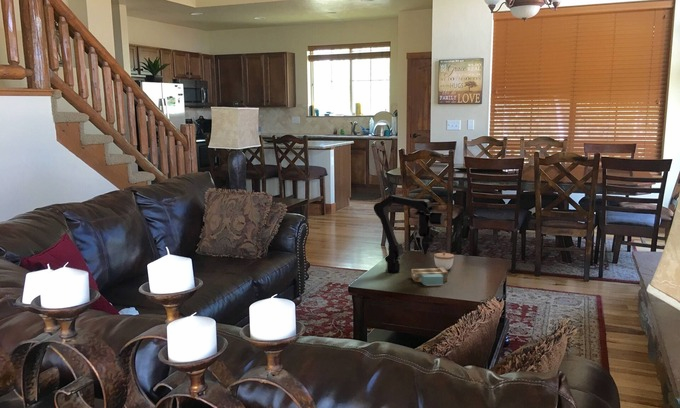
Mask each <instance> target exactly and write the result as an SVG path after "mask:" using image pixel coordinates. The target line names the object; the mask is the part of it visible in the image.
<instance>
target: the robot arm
mask: <svg viewBox="0 0 680 408" xmlns="http://www.w3.org/2000/svg"><path fill="white" fill-rule="evenodd" d="M392 204H397V205H401V206H406V207H411V208H413V209H415V210H417V211H416V212H414V216H415V215H416V216H417V217H418V218H417V219H418V220H417V221H418V222H417V224H416V226H417V230H414V231H413V237H414V240H415V242H416V245H417V247H418V249H419V251H422V252H423V255H427V253H428V250H429V247H430V245H432V244H433V243H434V237H435V238H439V236H440V233H441V232H440V231H439V230H437V229H436V227H435V226H443V225H444V222H445V216H444V212H443V211H439V212H438V211H436V210H435V209H434V208H433V206H432V202H431V201H430V200H429V199H425V198H423V199H422V198H421V199H420V198H419V199H418V198H416V199H415V198H411V197H406V196H405V197H404V196H399V195H395V194H390V195H388V196H387V197H386V198H385V199H383V200H381V201H379V202H376V203H375V204H374V205H373V210H374V213H375V214H376V216H377V218H379V220H380V223H381V225H382V229H383V232H384V235H385V238H386V241H387V244H388V254H387V255H386V256H385V257H384V260H385V263H386V266H385V267H386V268H385V271H386V273H387V274H396V273H397V274H400V269H401V263H400V259H401V257H403V255H404V250H405V249H404V247H403V244H402V242H400V243H399V242H398V241H397V237H396V235H395V231H394V230H393V226H392V223H391V220H390V217H389V215H390V214H389V211H390V210H389V207H390V206H391V205H392ZM431 225H435V226H431ZM432 236H433V237H432Z"/></svg>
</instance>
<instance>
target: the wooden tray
mask: <svg viewBox="0 0 680 408" xmlns="http://www.w3.org/2000/svg"><path fill="white" fill-rule="evenodd" d="M426 274H441V275H442V276H443V282H448V275H449V271H448V270H445V269H444V268H443V267H442V268H438V267H437V268H411V276H410V278H411V279H412V280H413V281H414V282H415V283H422V282H421V278H422V275H426Z"/></svg>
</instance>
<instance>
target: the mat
mask: <svg viewBox="0 0 680 408" xmlns="http://www.w3.org/2000/svg"><path fill="white" fill-rule="evenodd" d="M443 285H444V283H443V284H433V285H425V286H427V287H428V286H432V287H433V286H443Z"/></svg>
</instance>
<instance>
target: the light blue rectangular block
mask: <svg viewBox="0 0 680 408" xmlns="http://www.w3.org/2000/svg"><path fill="white" fill-rule="evenodd" d="M420 283H421V284H422V285H424V286H426V285H432V286H434V285H433V284H443V285H444V281H443V276H442V275H441V274H426V275H422V278H421V282H420Z"/></svg>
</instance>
